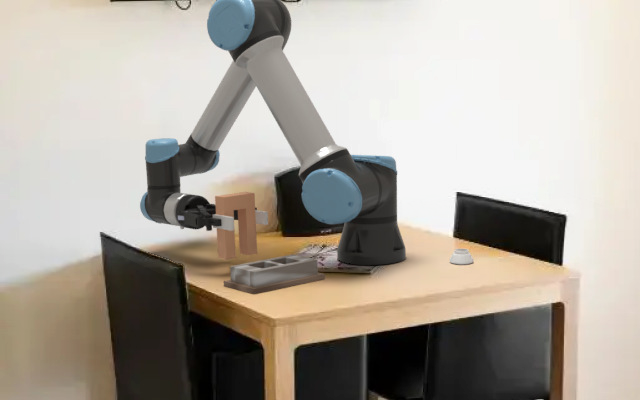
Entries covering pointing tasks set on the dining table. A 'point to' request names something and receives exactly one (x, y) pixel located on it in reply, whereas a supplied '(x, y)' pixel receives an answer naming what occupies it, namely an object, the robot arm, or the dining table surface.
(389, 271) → the dining table surface
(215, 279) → the dining table surface
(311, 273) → the grey socket block
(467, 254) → the grey bowl
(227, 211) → the tan arch block
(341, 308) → the dining table surface
